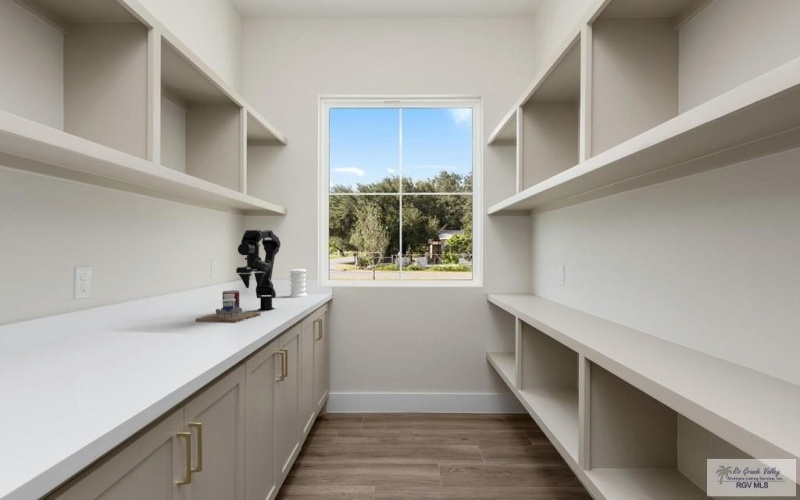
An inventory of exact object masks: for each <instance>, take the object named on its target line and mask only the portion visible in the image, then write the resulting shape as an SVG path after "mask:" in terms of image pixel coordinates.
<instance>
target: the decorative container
mask: <svg viewBox="0 0 800 500" xmlns="http://www.w3.org/2000/svg"><path fill="white" fill-rule="evenodd" d="M306 272H307V269H289V273H290V294H289V297H290V298H305V297H308V293H307V292H306V291H307V289H306V286H307V284H306V280H307V279H306V277H307V275H306Z"/></svg>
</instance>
